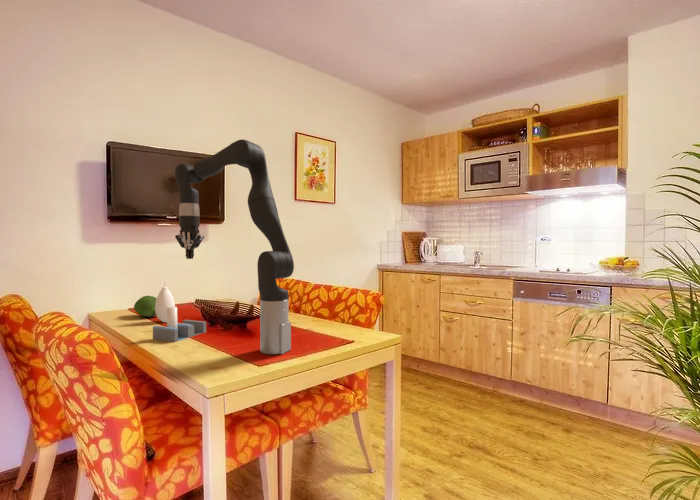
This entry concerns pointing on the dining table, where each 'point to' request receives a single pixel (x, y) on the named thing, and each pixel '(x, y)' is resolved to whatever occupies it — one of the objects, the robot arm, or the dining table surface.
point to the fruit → (146, 306)
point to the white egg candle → (163, 303)
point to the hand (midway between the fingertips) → (189, 258)
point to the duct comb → (179, 331)
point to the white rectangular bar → (172, 317)
